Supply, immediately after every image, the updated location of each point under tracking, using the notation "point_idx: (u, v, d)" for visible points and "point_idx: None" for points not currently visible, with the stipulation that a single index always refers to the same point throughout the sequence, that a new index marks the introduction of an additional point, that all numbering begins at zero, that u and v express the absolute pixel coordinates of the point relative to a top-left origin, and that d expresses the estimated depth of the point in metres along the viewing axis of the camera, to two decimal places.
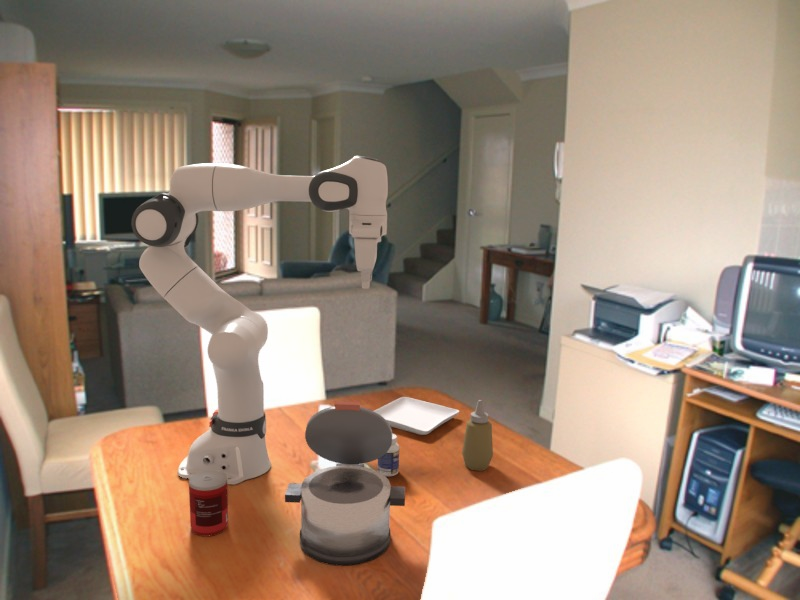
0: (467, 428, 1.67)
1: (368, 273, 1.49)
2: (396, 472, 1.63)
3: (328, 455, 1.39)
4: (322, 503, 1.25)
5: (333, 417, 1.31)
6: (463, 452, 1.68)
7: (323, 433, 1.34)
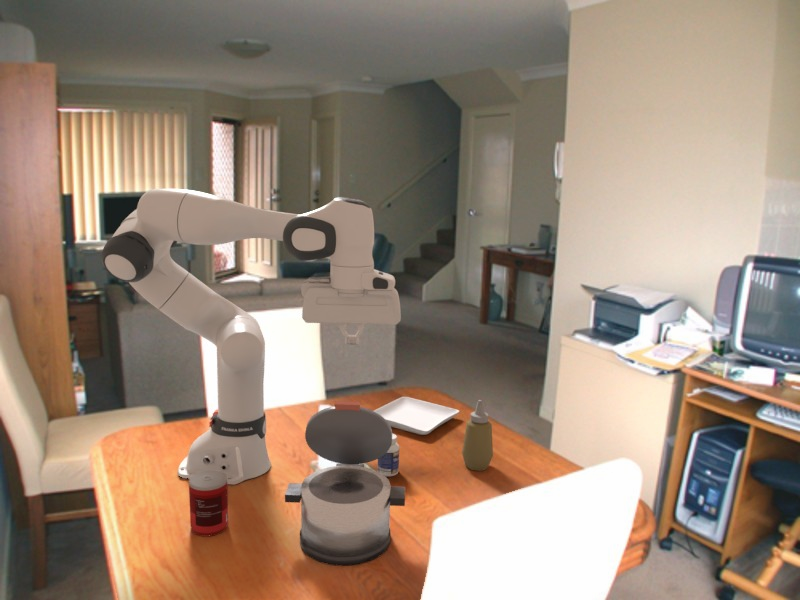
0: (467, 428, 1.67)
1: None
2: (396, 472, 1.63)
3: (328, 455, 1.39)
4: (322, 503, 1.25)
5: (333, 417, 1.31)
6: (463, 452, 1.68)
7: (323, 433, 1.34)
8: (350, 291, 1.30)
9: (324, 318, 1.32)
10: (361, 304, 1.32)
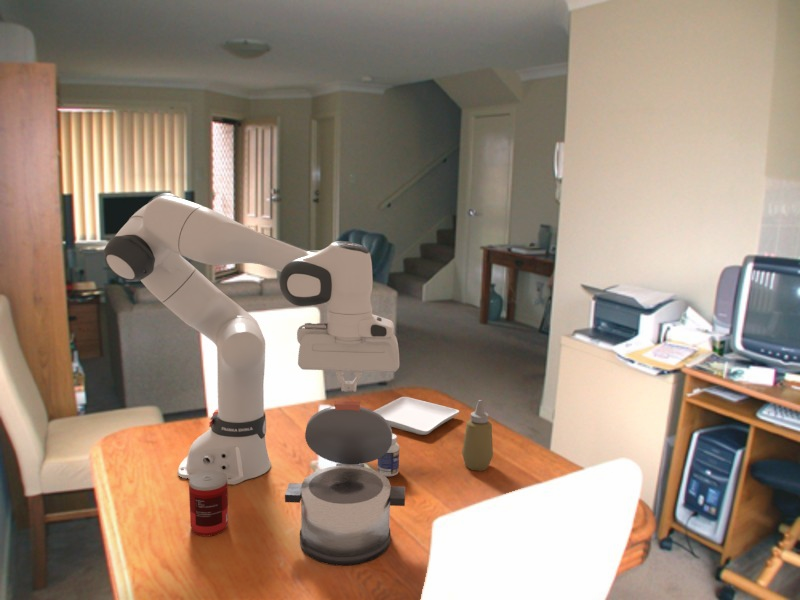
0: (467, 428, 1.67)
1: None
2: (396, 472, 1.63)
3: (328, 455, 1.39)
4: (322, 503, 1.25)
5: (333, 417, 1.31)
6: (463, 452, 1.68)
7: (323, 433, 1.34)
8: (347, 338, 1.26)
9: (320, 365, 1.29)
10: (359, 351, 1.28)
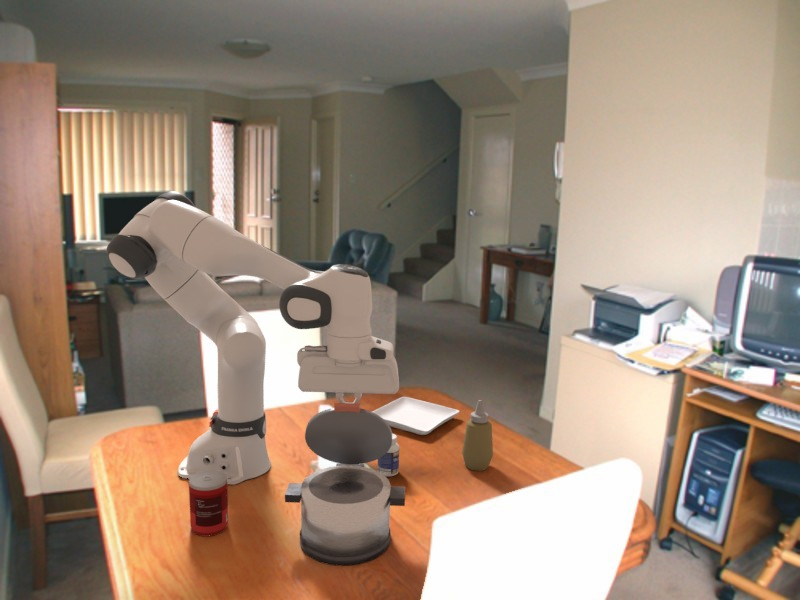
0: (467, 428, 1.67)
1: (361, 393, 1.32)
2: (396, 472, 1.63)
3: (328, 455, 1.39)
4: (322, 503, 1.25)
5: (333, 419, 1.30)
6: (463, 452, 1.68)
7: (323, 434, 1.34)
8: (347, 361, 1.27)
9: (320, 387, 1.30)
10: (359, 373, 1.29)
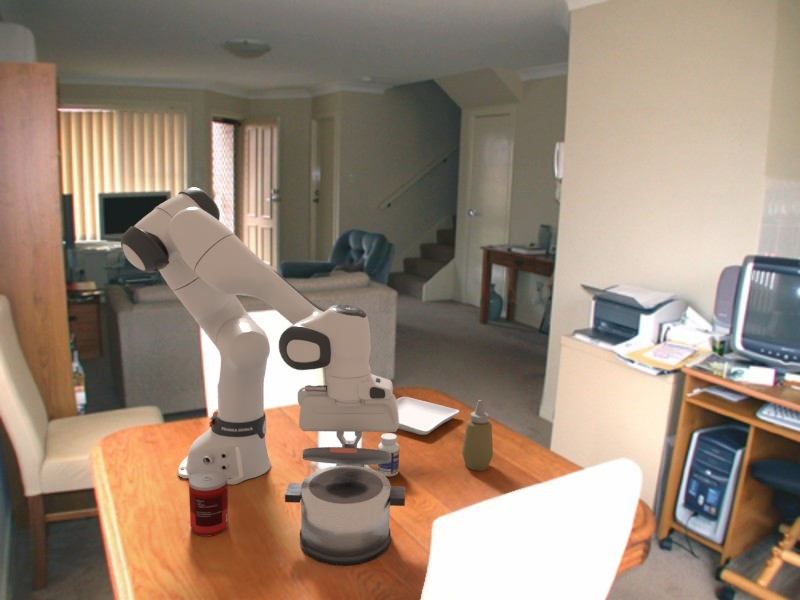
0: (467, 428, 1.67)
1: None
2: (396, 472, 1.63)
3: (327, 462, 1.38)
4: (322, 503, 1.25)
5: (329, 456, 1.26)
6: (463, 452, 1.68)
7: (320, 458, 1.31)
8: (347, 401, 1.28)
9: (321, 427, 1.31)
10: (359, 412, 1.30)
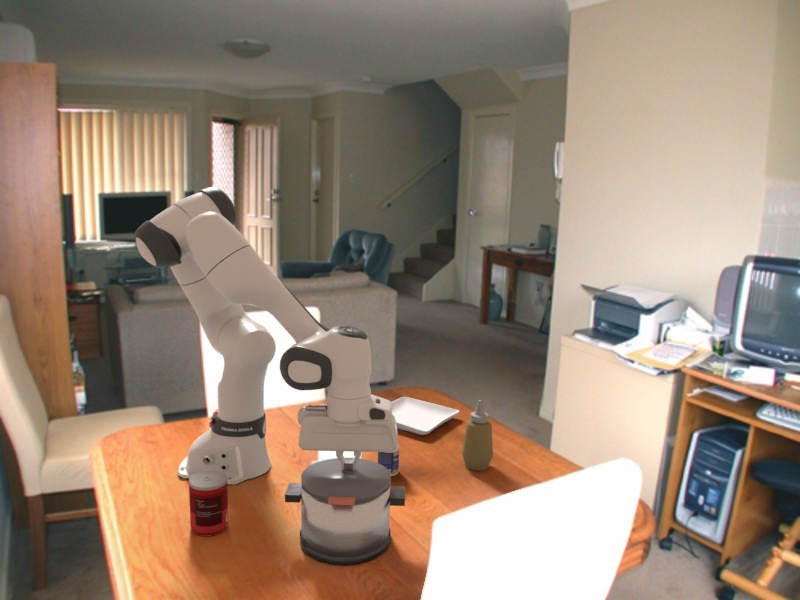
0: (467, 428, 1.67)
1: None
2: (396, 472, 1.63)
3: None
4: (322, 503, 1.25)
5: None
6: (463, 452, 1.68)
7: None
8: (347, 421, 1.29)
9: (321, 446, 1.32)
10: (358, 432, 1.32)
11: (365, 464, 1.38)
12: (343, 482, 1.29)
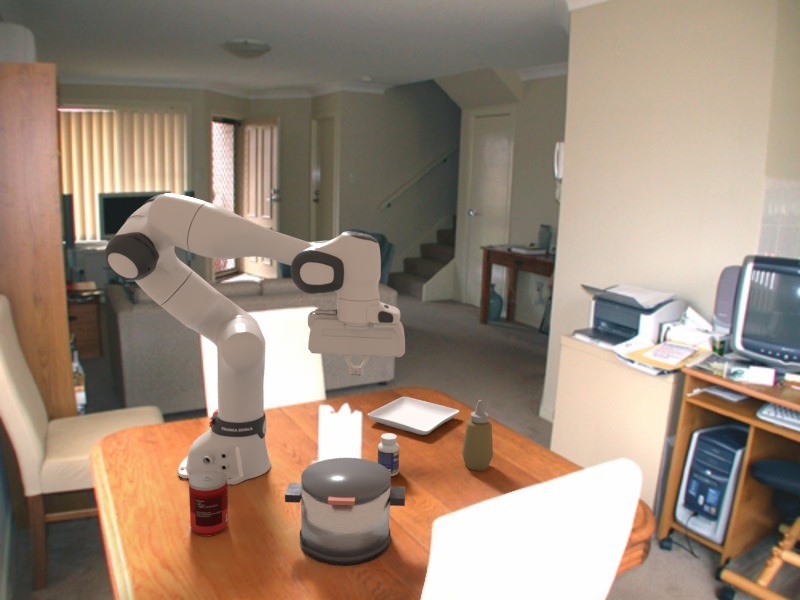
0: (467, 428, 1.67)
1: None
2: (396, 472, 1.63)
3: None
4: (322, 503, 1.25)
5: None
6: (463, 452, 1.68)
7: None
8: (356, 324, 1.32)
9: (330, 349, 1.35)
10: (366, 336, 1.34)
11: (365, 464, 1.38)
12: (343, 482, 1.29)
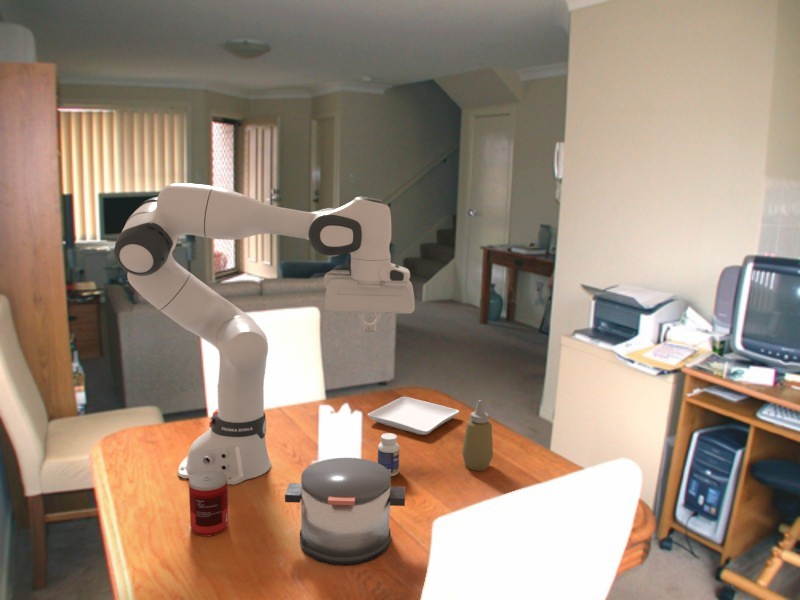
0: (467, 428, 1.67)
1: None
2: (396, 472, 1.63)
3: None
4: (322, 503, 1.25)
5: None
6: (463, 452, 1.68)
7: None
8: (369, 282, 1.42)
9: (345, 307, 1.45)
10: (379, 294, 1.44)
11: (365, 464, 1.38)
12: (343, 482, 1.29)
